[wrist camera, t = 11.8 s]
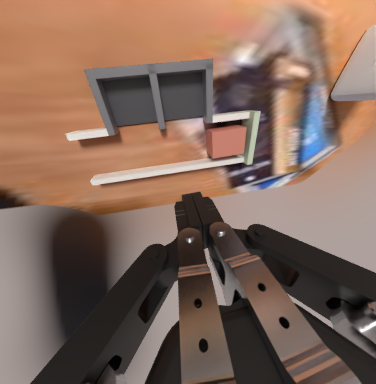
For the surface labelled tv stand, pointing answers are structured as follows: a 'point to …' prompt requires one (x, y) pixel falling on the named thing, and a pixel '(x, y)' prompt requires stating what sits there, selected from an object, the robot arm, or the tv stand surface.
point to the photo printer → (359, 72)
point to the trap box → (160, 108)
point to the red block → (226, 141)
